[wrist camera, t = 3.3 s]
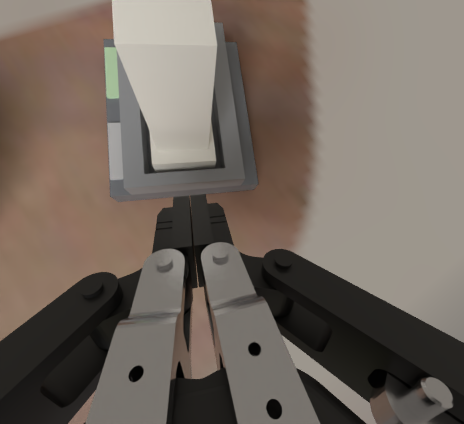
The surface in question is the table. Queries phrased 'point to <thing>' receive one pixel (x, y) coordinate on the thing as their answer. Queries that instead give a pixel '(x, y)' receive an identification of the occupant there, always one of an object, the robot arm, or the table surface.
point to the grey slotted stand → (138, 135)
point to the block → (171, 76)
